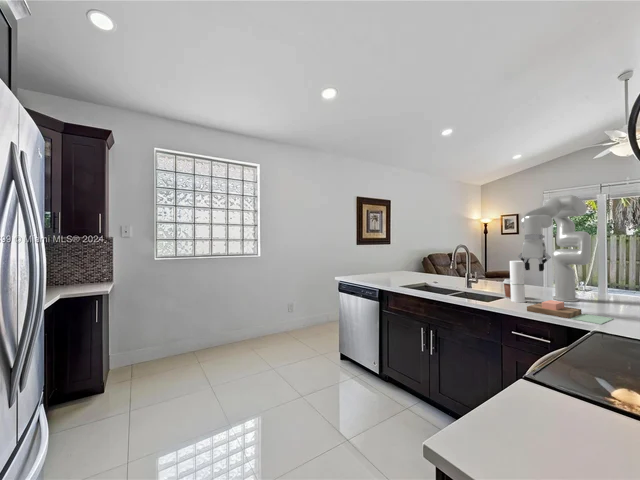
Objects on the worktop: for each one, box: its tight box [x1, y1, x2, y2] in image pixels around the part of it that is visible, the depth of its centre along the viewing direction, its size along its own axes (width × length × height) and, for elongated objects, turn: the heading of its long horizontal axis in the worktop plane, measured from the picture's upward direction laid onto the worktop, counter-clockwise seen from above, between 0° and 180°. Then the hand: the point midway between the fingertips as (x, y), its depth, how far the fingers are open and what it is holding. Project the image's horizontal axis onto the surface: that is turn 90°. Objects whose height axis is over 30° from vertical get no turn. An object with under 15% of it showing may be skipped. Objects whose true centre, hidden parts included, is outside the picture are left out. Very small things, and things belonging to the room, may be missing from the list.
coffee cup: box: [502, 278, 511, 300], centre depth 185 cm, size 9×9×12 cm
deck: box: [526, 302, 583, 320], centre depth 147 cm, size 14×18×2 cm
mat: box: [569, 313, 615, 325], centre depth 134 cm, size 15×11×1 cm
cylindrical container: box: [509, 260, 526, 304], centre depth 175 cm, size 7×7×25 cm
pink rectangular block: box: [541, 299, 565, 310], centre depth 147 cm, size 9×6×3 cm, turn 118°
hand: (534, 270), depth 154 cm, fingers open, 5 cm apart
